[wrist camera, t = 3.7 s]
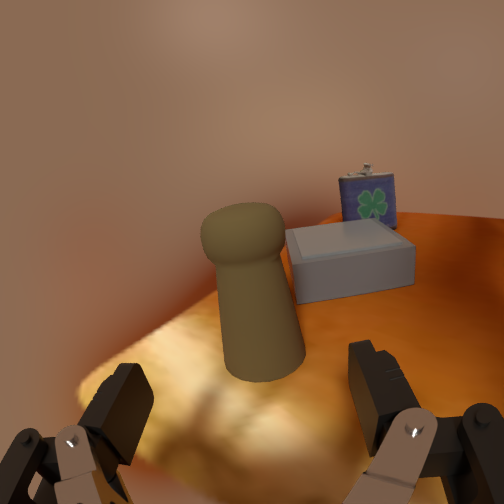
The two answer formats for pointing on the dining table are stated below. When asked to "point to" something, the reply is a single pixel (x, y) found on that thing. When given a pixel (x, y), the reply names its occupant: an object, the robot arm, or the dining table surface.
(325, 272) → the gray rectangular box
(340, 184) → the flask
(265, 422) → the dining table surface
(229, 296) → the cork
